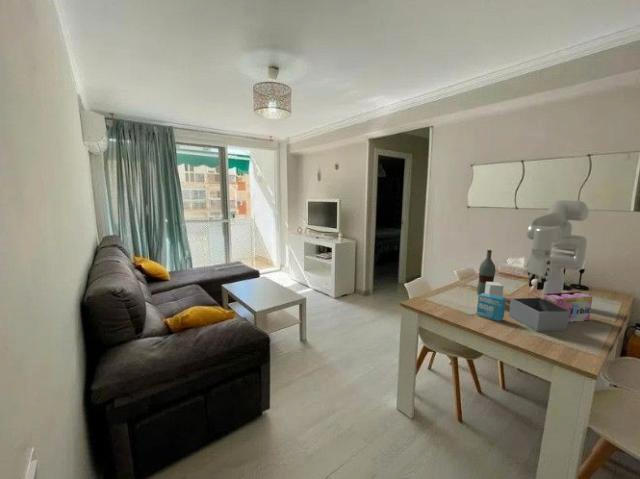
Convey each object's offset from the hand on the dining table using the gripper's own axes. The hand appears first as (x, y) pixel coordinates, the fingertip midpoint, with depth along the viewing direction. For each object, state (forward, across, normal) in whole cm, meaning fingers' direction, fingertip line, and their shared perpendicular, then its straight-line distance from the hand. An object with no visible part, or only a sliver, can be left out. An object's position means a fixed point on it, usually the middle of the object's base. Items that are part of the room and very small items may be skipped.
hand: (535, 287), depth 144 cm
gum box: (+19, +3, -22) cm, 30 cm away
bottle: (+19, +40, -3) cm, 45 cm away
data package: (+19, +8, +17) cm, 27 cm away
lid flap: (+6, 0, -3) cm, 7 cm away
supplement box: (+19, +26, +2) cm, 33 cm away
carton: (+19, 0, -3) cm, 19 cm away
